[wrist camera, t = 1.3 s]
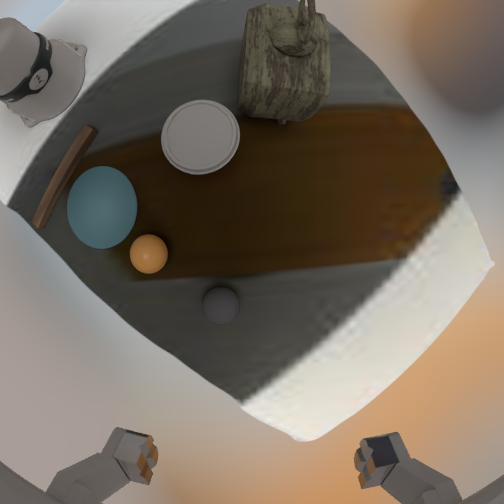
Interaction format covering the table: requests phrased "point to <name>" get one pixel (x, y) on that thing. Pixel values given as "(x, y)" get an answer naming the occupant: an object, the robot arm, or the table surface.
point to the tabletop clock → (284, 63)
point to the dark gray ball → (220, 305)
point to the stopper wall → (63, 175)
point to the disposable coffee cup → (200, 137)
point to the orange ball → (148, 253)
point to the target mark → (102, 207)
